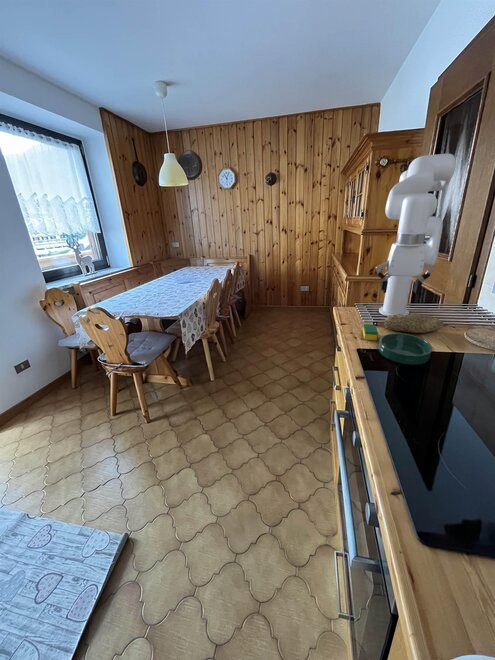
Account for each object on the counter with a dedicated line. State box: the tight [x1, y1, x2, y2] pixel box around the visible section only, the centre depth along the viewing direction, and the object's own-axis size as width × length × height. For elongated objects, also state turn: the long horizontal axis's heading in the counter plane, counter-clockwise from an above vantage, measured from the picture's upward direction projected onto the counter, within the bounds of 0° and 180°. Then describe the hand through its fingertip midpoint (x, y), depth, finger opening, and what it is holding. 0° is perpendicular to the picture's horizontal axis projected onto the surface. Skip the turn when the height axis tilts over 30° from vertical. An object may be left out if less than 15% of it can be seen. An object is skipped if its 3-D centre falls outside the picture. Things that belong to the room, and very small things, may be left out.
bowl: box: [377, 332, 433, 366], centre depth 99 cm, size 16×16×4 cm
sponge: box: [383, 313, 445, 334], centre depth 114 cm, size 13×8×20 cm
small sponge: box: [362, 323, 379, 341], centre depth 112 cm, size 7×4×4 cm, turn 164°
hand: (399, 292), depth 95 cm, fingers open, 9 cm apart
